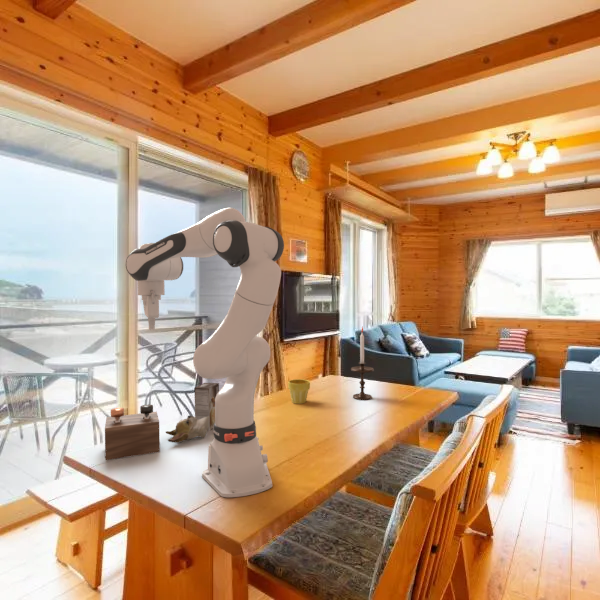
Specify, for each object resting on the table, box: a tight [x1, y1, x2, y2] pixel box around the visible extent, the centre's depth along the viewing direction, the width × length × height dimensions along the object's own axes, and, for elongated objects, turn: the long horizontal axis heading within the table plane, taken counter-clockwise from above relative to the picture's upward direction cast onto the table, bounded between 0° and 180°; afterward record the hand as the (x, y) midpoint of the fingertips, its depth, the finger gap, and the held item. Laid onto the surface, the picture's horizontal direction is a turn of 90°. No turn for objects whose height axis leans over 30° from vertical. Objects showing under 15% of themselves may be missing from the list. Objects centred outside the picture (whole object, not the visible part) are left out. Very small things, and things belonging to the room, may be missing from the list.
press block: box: [104, 411, 161, 461], centre depth 134 cm, size 12×16×10 cm
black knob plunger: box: [139, 404, 154, 419], centre depth 136 cm, size 4×4×13 cm
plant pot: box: [287, 378, 311, 405], centre depth 191 cm, size 10×10×10 cm
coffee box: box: [194, 382, 220, 431], centre depth 157 cm, size 9×6×16 cm
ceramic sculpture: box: [165, 415, 209, 444], centre depth 144 cm, size 11×9×15 cm
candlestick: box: [350, 326, 375, 401], centre depth 197 cm, size 11×11×35 cm
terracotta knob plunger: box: [110, 407, 125, 423], centre depth 132 cm, size 4×4×13 cm
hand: (151, 329), depth 142 cm, fingers closed
